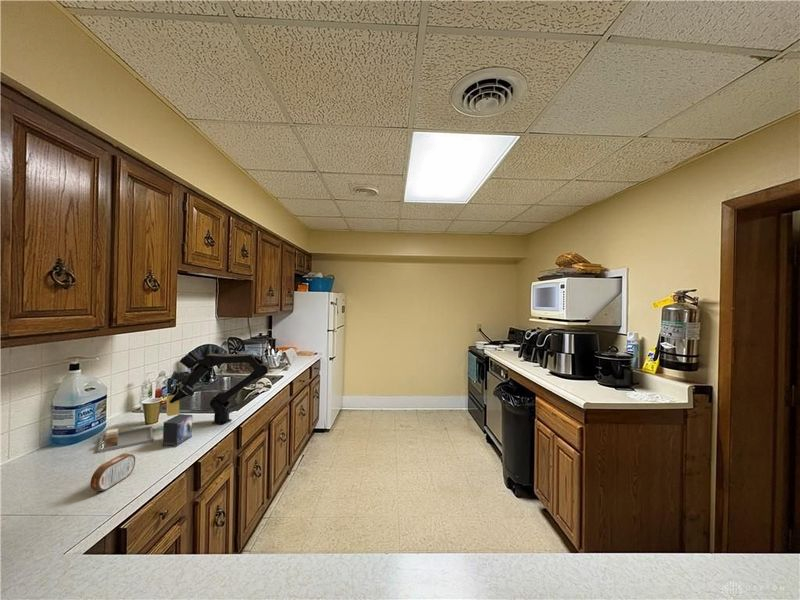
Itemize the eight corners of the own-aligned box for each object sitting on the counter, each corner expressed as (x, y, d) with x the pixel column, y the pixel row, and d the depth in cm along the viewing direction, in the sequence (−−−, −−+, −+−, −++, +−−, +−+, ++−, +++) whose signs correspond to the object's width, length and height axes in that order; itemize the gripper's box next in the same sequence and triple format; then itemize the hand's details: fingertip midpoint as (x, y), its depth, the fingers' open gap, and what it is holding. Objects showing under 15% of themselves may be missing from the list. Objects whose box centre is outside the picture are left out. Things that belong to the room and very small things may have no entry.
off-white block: (118, 437, 149) (118, 428, 149) (117, 440, 146) (117, 431, 146) (106, 439, 147) (106, 430, 147) (106, 442, 143) (106, 433, 143)
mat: (177, 420, 170) (177, 420, 170) (196, 423, 167) (196, 423, 167) (154, 429, 159) (154, 429, 159) (173, 433, 155) (174, 432, 155)
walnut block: (117, 442, 144) (117, 433, 144) (117, 446, 140) (117, 436, 140) (105, 445, 141) (106, 435, 141) (105, 448, 138) (105, 438, 138)
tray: (151, 429, 159) (151, 426, 159) (153, 442, 145) (153, 439, 145) (101, 438, 148) (101, 435, 148) (97, 453, 134) (97, 450, 134)
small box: (176, 447, 141) (177, 422, 141) (161, 447, 141) (162, 422, 141) (193, 437, 152) (193, 414, 151) (178, 436, 152) (179, 413, 152)
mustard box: (177, 411, 163) (177, 394, 163) (179, 414, 160) (179, 396, 160) (166, 413, 160) (166, 396, 160) (167, 416, 157) (168, 398, 157)
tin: (128, 472, 121) (129, 448, 121) (137, 472, 121) (137, 449, 121) (88, 496, 106) (89, 469, 106) (98, 496, 106) (99, 470, 106)
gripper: (179, 361, 170) (152, 387, 162) (186, 368, 156) (157, 396, 148) (197, 375, 175) (172, 400, 168) (205, 382, 161) (178, 410, 154)
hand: (169, 401), depth 159 cm, fingers closed on mustard box, 4 cm apart
